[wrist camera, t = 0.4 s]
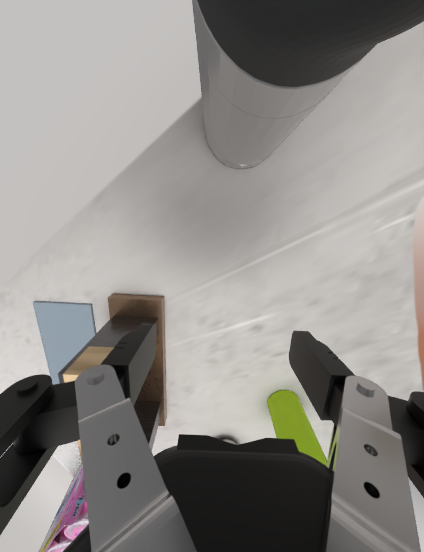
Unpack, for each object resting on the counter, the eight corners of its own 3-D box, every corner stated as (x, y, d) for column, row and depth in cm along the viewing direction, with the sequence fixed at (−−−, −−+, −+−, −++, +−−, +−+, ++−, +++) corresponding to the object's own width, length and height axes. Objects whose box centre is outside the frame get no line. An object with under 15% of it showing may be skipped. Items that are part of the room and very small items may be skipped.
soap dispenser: (260, 413, 38) (308, 612, 19) (274, 387, 36) (341, 579, 17) (289, 419, 39) (362, 619, 20) (303, 394, 37) (400, 588, 18)
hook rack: (112, 293, 31) (45, 347, 18) (163, 296, 31) (131, 352, 19) (125, 416, 39) (84, 511, 26) (166, 418, 39) (144, 514, 26)
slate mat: (34, 301, 31) (32, 302, 31) (91, 304, 31) (90, 305, 31) (63, 420, 39) (61, 422, 39) (108, 422, 39) (107, 424, 39)
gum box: (111, 414, 38) (64, 519, 25) (149, 427, 40) (123, 532, 27) (71, 481, 44) (17, 593, 32) (105, 490, 46) (67, 600, 33)
